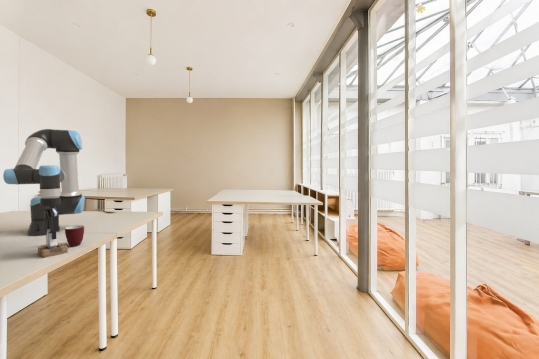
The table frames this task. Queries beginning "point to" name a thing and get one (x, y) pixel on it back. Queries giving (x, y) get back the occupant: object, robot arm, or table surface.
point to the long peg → (49, 241)
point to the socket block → (52, 250)
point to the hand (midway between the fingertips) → (52, 244)
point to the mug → (74, 235)
